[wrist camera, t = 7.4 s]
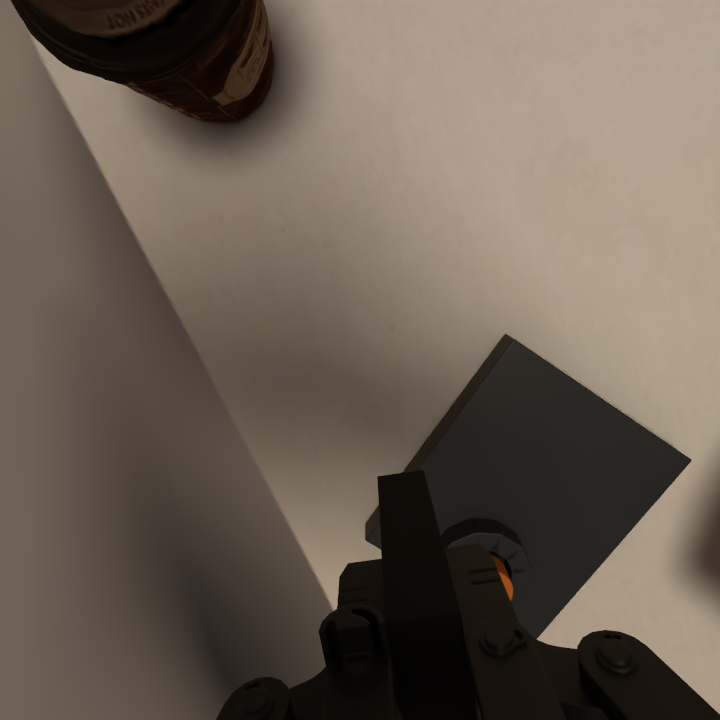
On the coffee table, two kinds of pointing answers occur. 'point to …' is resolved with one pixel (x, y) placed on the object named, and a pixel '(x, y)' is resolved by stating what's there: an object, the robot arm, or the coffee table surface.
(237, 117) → the coffee cup
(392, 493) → the robot arm
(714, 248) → the coffee table surface
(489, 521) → the scale
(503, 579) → the button
